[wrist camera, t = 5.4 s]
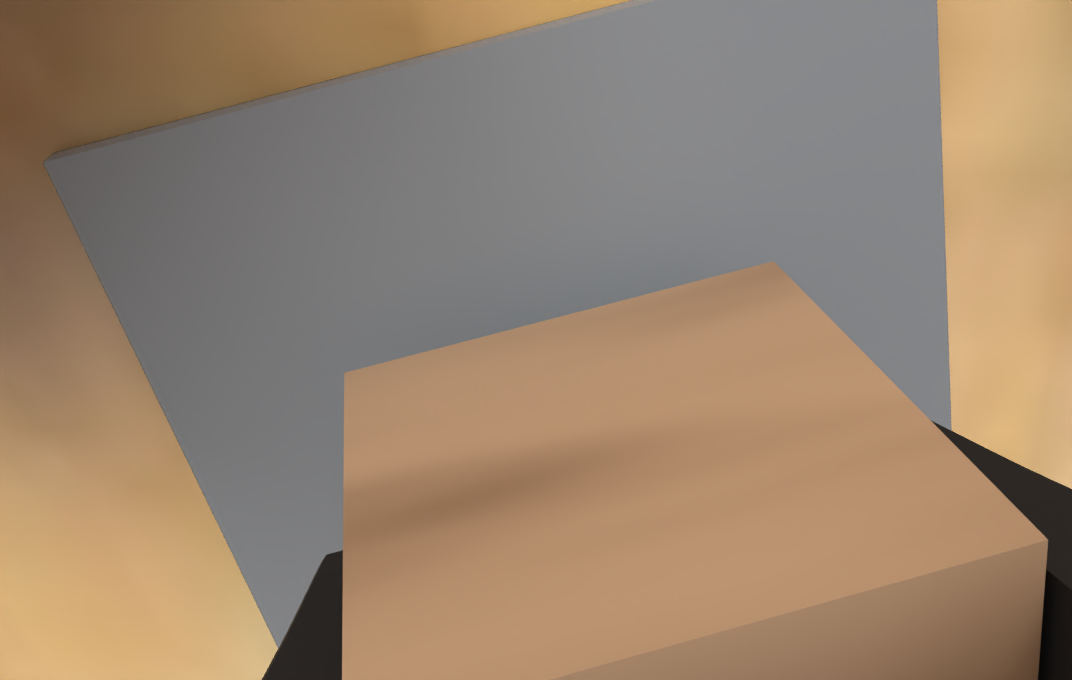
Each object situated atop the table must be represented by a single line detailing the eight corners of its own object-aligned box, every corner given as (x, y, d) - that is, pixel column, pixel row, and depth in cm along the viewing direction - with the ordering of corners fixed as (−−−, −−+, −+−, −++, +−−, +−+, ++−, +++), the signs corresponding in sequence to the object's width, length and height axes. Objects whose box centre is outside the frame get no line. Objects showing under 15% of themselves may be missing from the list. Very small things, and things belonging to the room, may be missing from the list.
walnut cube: (802, 583, 15) (1018, 942, 10) (451, 681, 15) (502, 1099, 10) (773, 260, 12) (1048, 538, 7) (344, 372, 12) (341, 737, 7)
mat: (945, 584, 17) (957, 599, 17) (338, 751, 17) (337, 771, 17) (918, -76, 12) (934, -74, 12) (52, 152, 12) (43, 162, 12)
